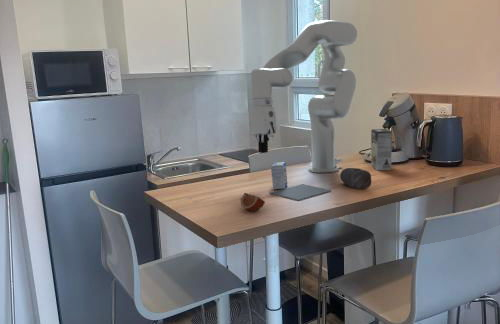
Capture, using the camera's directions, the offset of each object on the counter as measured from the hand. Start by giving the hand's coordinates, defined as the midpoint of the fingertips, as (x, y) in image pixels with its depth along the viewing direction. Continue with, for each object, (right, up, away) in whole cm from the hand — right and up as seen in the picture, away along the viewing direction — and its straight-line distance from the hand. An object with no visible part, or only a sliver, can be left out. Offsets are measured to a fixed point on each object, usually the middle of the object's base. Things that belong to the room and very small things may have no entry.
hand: (263, 152), depth 161 cm
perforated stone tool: (+32, -13, -7) cm, 35 cm away
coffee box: (+50, -6, +20) cm, 55 cm away
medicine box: (+6, -13, -3) cm, 15 cm away
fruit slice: (-4, -19, -29) cm, 34 cm away
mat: (+13, -14, -12) cm, 22 cm away
